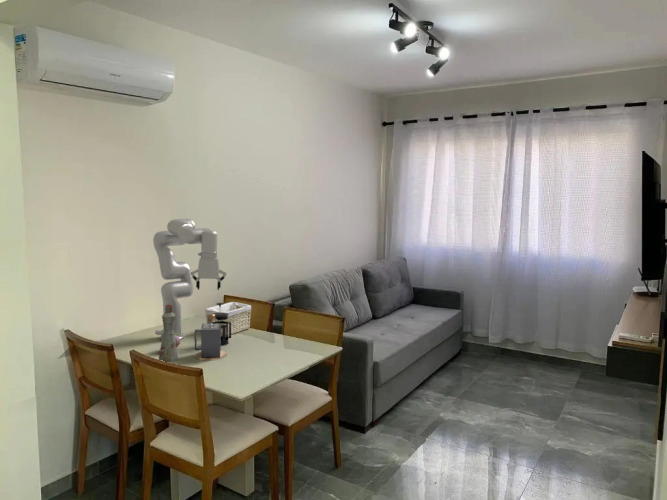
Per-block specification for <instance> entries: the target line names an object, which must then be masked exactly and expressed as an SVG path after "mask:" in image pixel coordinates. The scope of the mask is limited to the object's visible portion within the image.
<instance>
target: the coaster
mask: <svg viewBox="0 0 667 500" xmlns="http://www.w3.org/2000/svg"><path fill="white" fill-rule="evenodd" d="M227 356H228V352H227V351H225V350H221V353H220V358H201V351H198V352H197V353H195V354H194V358H195V359H197V360H200V361H206V362H207V361H218V360H222V359H224V358H226V357H227Z"/></svg>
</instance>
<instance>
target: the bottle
mask: <svg viewBox="0 0 667 500" xmlns="http://www.w3.org/2000/svg"><path fill="white" fill-rule="evenodd" d="M161 318H162V324H163V326H164V332H163V337H162V339H161V343H160V349H159V354H158V355H159V356H158V359H159V361H160V360H163V361H166V363H169V362H170V363H171V362H175V361H177V360H178V359H179V356H178V347H177V348H176V341H175V336H174V330H173V328H174V321H175V314H174V313H173V312H172V305H169V304H168V305H166V306H165V313H164V314H162V315H161Z"/></svg>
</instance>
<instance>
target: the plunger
mask: <svg viewBox="0 0 667 500" xmlns="http://www.w3.org/2000/svg"><path fill="white" fill-rule="evenodd" d="M207 321H210V327H212V321H215V314H208V315H207V320H206V322H207Z"/></svg>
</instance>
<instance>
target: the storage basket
mask: <svg viewBox="0 0 667 500" xmlns="http://www.w3.org/2000/svg"><path fill="white" fill-rule="evenodd" d="M204 310H205V311H204V312H205V313H204V314H205V316H206V317H205V318H206V324H210V321H207V315H208V314H213V313H219V312H223V313H228V314H229V315H228V319H226V320H217V319H216V318H215V321H212V323H213V322H216V321H225V322H231V335H234V334H237V333H240V332H243V331H244V330H247V329H250V328H251V327H250V326H251V314H252V306H251V305H250V304H247V303H241V302H235V301H231V302H225V303H224V304H223V305H221V307H219V305H215V306H210V307H206V308H205V309H204ZM221 325H226V324H221ZM221 331H223V328H221ZM228 337H229V326H228Z"/></svg>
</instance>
